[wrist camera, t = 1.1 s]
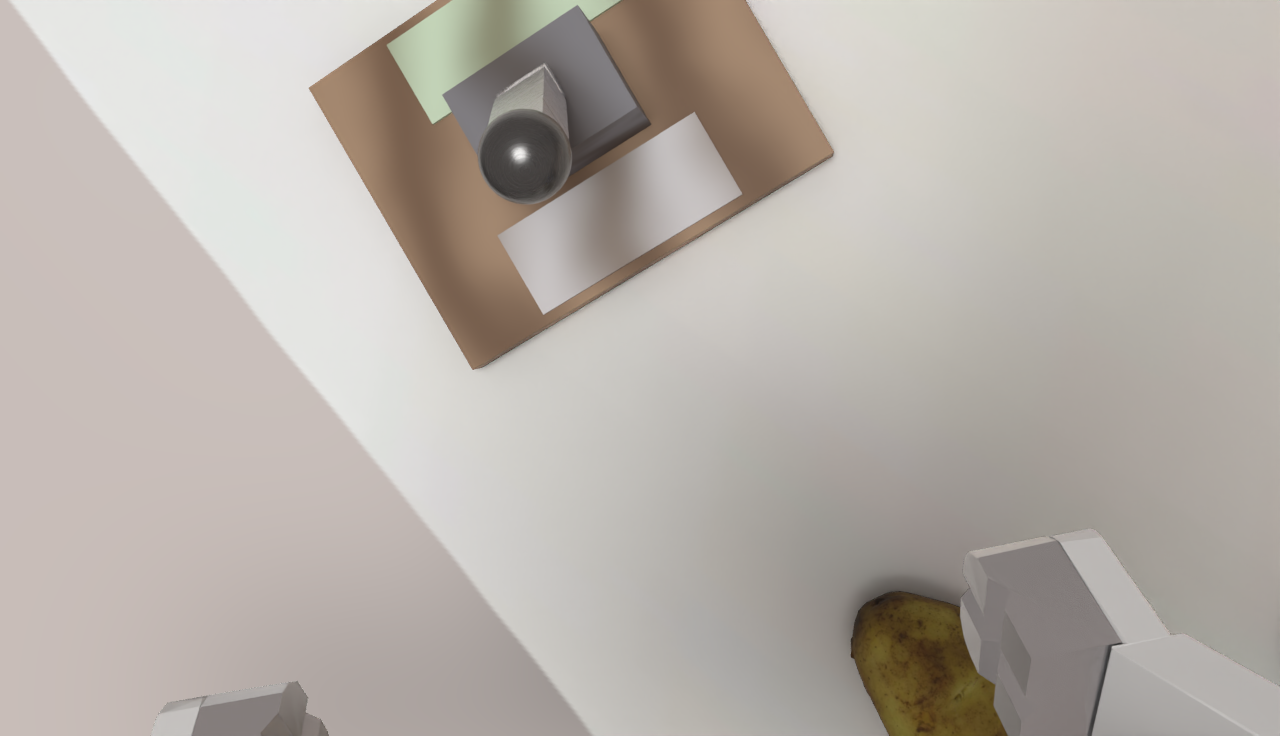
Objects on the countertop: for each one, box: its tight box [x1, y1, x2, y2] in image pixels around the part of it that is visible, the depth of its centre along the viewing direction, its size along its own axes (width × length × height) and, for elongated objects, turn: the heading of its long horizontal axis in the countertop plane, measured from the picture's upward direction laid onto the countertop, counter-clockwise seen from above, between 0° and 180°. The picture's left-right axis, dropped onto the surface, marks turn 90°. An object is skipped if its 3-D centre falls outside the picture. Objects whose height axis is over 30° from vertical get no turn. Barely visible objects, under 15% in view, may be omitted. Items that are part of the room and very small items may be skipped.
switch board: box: [309, 0, 834, 370], centre depth 45 cm, size 20×16×6 cm
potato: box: [851, 591, 1008, 736], centre depth 43 cm, size 8×13×8 cm, turn 23°
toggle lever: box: [478, 62, 572, 204], centre depth 36 cm, size 3×3×13 cm
